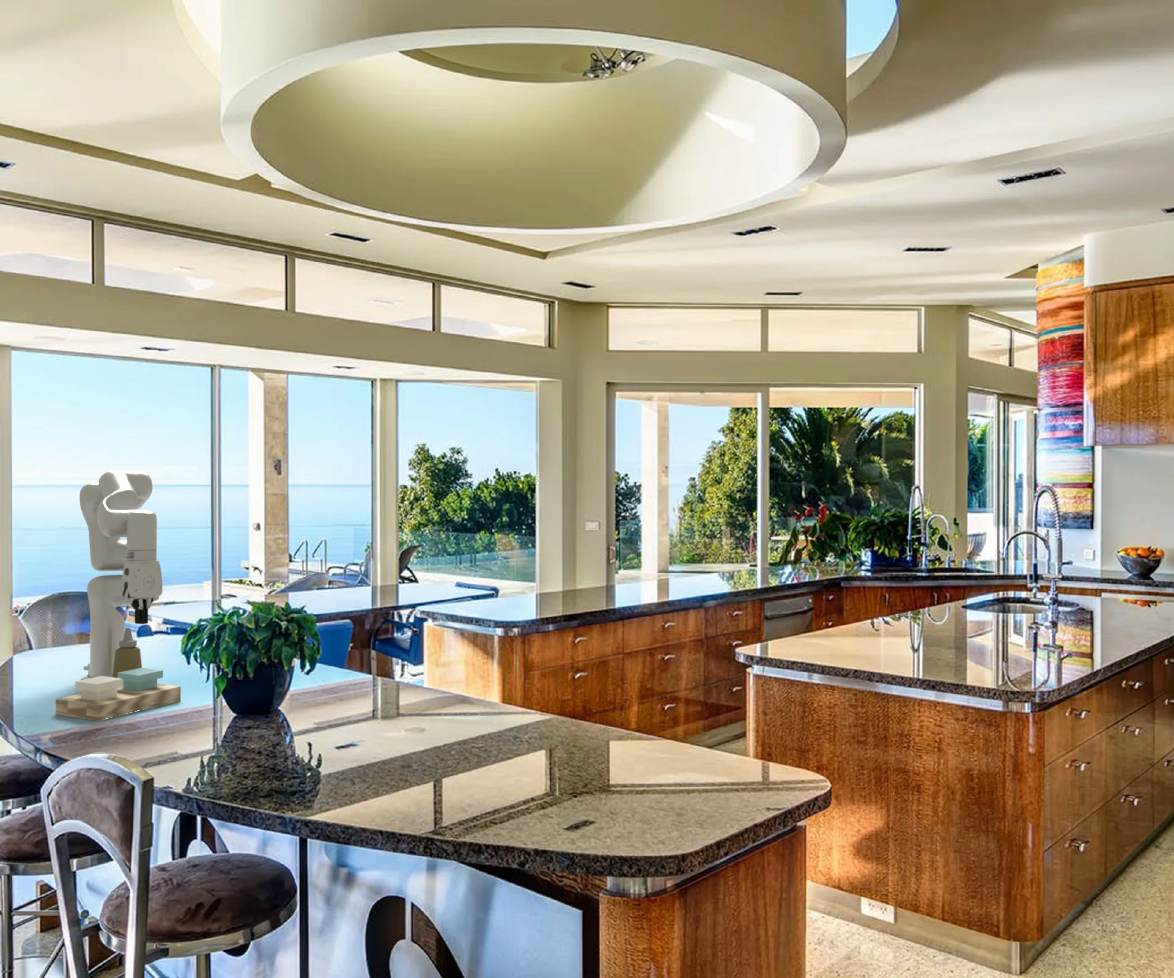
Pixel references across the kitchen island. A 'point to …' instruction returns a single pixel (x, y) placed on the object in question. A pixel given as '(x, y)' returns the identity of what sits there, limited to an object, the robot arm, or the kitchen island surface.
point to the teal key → (140, 679)
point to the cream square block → (99, 688)
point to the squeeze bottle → (127, 655)
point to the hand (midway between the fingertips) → (141, 623)
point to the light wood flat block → (117, 702)
